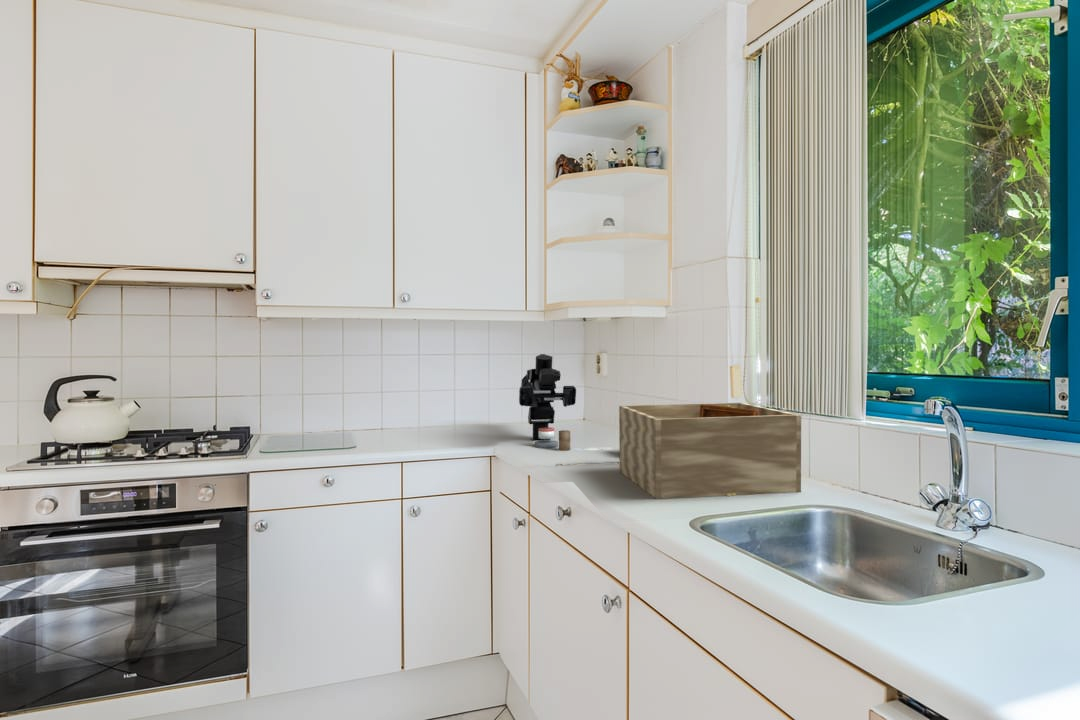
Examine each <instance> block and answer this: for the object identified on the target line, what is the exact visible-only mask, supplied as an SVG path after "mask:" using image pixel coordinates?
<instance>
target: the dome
mask: <svg viewBox="0 0 1080 720" xmlns="http://www.w3.org/2000/svg"><path fill="white" fill-rule="evenodd" d="M538 435H539V438H540V439H551V440H553V439H555V427H549V428H539V429H538Z"/></svg>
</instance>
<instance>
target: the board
mask: <svg viewBox="0 0 1080 720" xmlns="http://www.w3.org/2000/svg"><path fill="white" fill-rule="evenodd" d="M534 447H535V448H537V449H554V448H555V449H557V451H559V441H558V440H557V441H556V440H552V439H551V440H540V441H534ZM607 450H608V451H610V450H611V451H612V450H614V448H613V447H610V446H607V447H601V446H600V447H585V448H584V447H583V448H582V447H580V448H579V447H578V448H577V447H576V448H575V447H574V448H571V449H570V451H569V452H583V451H585V452H586V451H607ZM559 452H561V453H562V452H563V451H559Z"/></svg>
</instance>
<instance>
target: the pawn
mask: <svg viewBox="0 0 1080 720" xmlns="http://www.w3.org/2000/svg"><path fill="white" fill-rule="evenodd" d="M558 449H559V451H562V452H571V451H570V450H571V430H567V429H566V430H565V429H564V430H558Z"/></svg>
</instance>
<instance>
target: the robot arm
mask: <svg viewBox="0 0 1080 720" xmlns="http://www.w3.org/2000/svg"><path fill="white" fill-rule="evenodd" d="M560 380H561V372H560V370H557V369H554V368H553V356H551V355H548V354H546V353H540V354H539V355H536V356H535V368H531V369H528V370H526V374H525V376H523V378H521V383H520V386H519V387H520V388H519V390H518V391H519V392H518V403H519V405H520V406H521V407H522V406H523V407H529V409H528V416H527V419H528V421H527V423H528V424H529V425H532V437H530V440H531V442H536V441H543V440H551V441H552V439H540V438H539V435H538V429H539V428H550V426H549V424H550V425H551V424H555V413H556V412H555V410H554V406H552V404H551V403H554V402H555V401H562V405H563V407H565V408H566V407H568V406H569V407H570V406H574V405H575V404H576V401H577V400H576V398H577V388H576V387H575V385H563V387H562V392H556V391H555V390H556V389H557V384H556V383H557V382H558V381H559V382H560Z"/></svg>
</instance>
